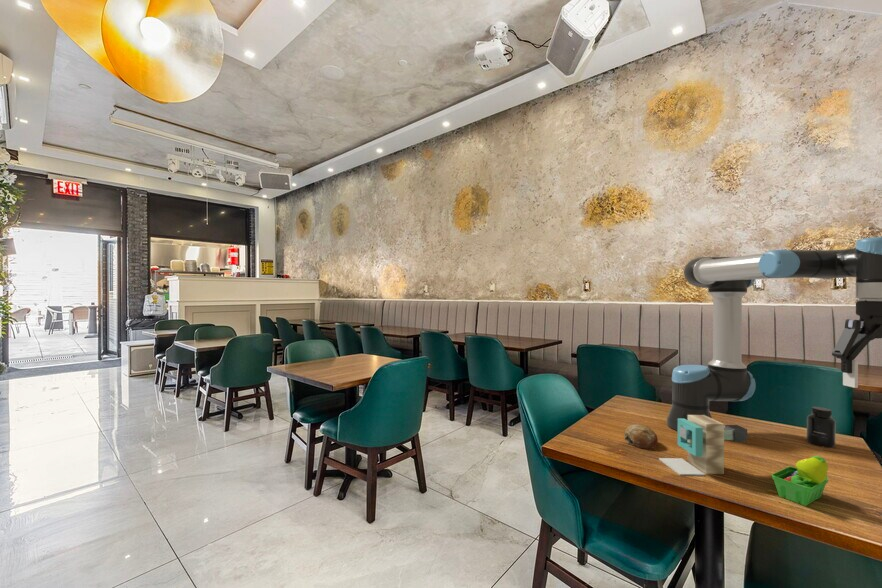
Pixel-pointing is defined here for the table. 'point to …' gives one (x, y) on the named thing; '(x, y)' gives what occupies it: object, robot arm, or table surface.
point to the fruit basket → (802, 480)
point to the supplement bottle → (821, 427)
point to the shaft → (730, 433)
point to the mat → (681, 466)
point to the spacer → (697, 437)
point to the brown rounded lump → (641, 436)
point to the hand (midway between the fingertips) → (878, 386)
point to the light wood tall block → (709, 445)
